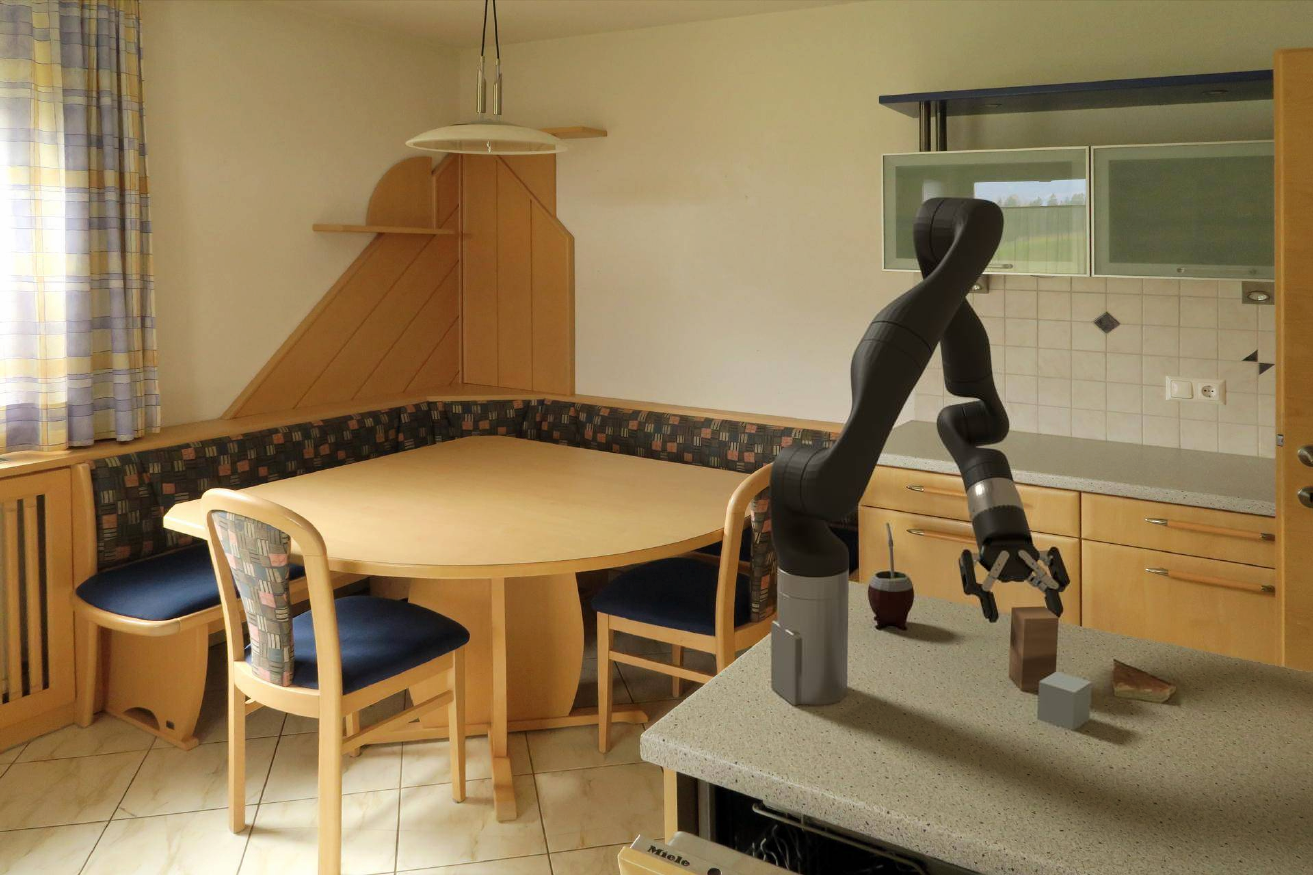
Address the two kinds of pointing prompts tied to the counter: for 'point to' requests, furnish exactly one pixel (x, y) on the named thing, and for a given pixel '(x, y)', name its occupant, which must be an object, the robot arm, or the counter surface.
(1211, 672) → the counter surface
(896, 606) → the mate gourd
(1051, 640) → the walnut block
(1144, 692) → the shard
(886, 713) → the counter surface
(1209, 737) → the counter surface
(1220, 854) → the counter surface
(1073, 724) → the grey-blue block
